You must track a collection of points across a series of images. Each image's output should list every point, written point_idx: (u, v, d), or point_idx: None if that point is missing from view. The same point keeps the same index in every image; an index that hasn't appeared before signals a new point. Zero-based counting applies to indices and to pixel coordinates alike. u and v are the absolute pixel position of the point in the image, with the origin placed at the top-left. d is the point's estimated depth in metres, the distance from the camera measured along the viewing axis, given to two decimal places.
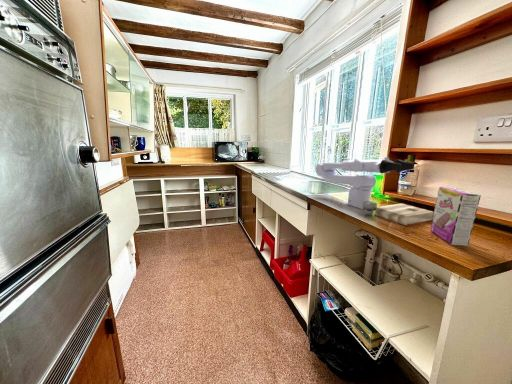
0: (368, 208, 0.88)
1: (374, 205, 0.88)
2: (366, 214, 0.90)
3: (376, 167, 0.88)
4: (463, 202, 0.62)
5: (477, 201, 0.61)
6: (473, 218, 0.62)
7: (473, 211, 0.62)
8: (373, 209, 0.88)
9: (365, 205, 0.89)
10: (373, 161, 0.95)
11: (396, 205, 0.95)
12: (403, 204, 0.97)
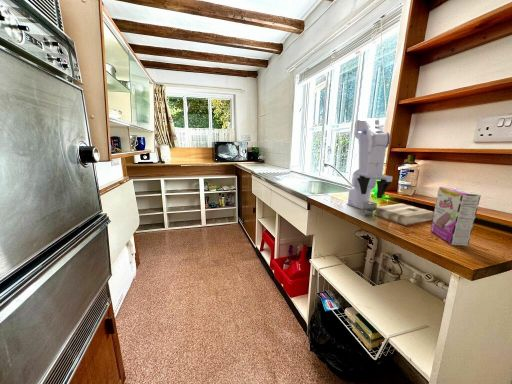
0: (368, 208, 0.88)
1: (374, 205, 0.88)
2: (366, 214, 0.90)
3: None
4: (463, 202, 0.62)
5: (477, 201, 0.61)
6: (473, 218, 0.62)
7: (473, 211, 0.62)
8: (373, 209, 0.88)
9: (365, 205, 0.89)
10: (368, 163, 0.87)
11: (396, 205, 0.95)
12: (403, 204, 0.97)
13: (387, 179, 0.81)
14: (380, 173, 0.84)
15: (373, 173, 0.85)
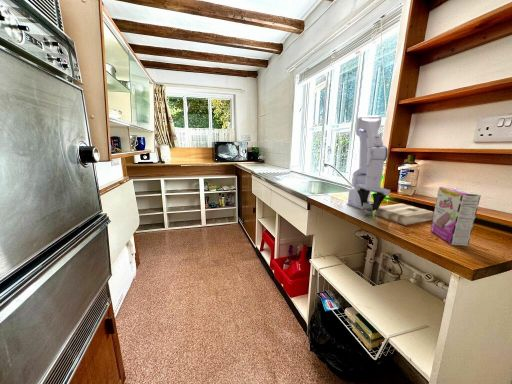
0: (368, 208, 0.88)
1: None
2: (366, 214, 0.90)
3: None
4: (463, 202, 0.62)
5: (477, 201, 0.61)
6: (473, 218, 0.62)
7: (473, 211, 0.62)
8: None
9: (365, 205, 0.89)
10: (366, 175, 0.88)
11: (396, 205, 0.95)
12: (403, 204, 0.97)
13: (385, 193, 0.82)
14: (378, 186, 0.86)
15: (371, 186, 0.86)
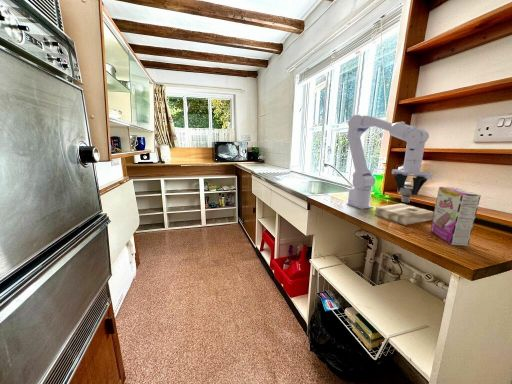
0: (406, 193, 0.85)
1: None
2: (403, 200, 0.87)
3: None
4: (463, 202, 0.62)
5: (477, 201, 0.61)
6: (473, 218, 0.62)
7: (473, 211, 0.62)
8: (411, 194, 0.85)
9: (403, 190, 0.86)
10: (404, 159, 0.85)
11: (396, 205, 0.95)
12: (403, 204, 0.97)
13: (427, 176, 0.79)
14: (418, 170, 0.83)
15: (411, 170, 0.83)
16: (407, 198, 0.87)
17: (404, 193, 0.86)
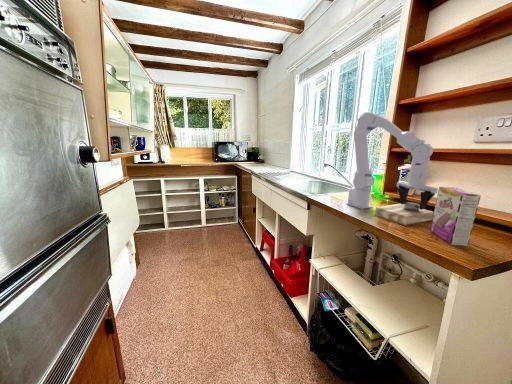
0: (411, 209, 0.87)
1: (417, 206, 0.86)
2: None
3: None
4: (463, 202, 0.62)
5: (477, 201, 0.61)
6: (473, 218, 0.62)
7: (473, 211, 0.62)
8: (416, 210, 0.86)
9: (407, 206, 0.88)
10: (410, 173, 0.86)
11: (396, 205, 0.95)
12: (403, 204, 0.97)
13: (432, 191, 0.80)
14: (423, 184, 0.84)
15: (416, 184, 0.84)
16: None
17: (409, 209, 0.87)
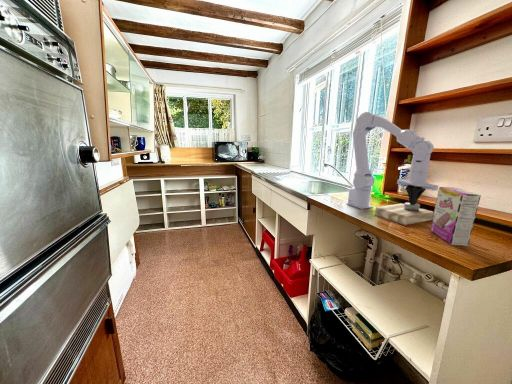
0: (411, 209, 0.87)
1: (417, 206, 0.86)
2: None
3: None
4: (463, 202, 0.62)
5: (477, 201, 0.61)
6: (473, 218, 0.62)
7: (473, 211, 0.62)
8: (416, 210, 0.86)
9: (407, 206, 0.88)
10: (410, 170, 0.86)
11: (396, 205, 0.95)
12: (403, 204, 0.97)
13: (433, 188, 0.80)
14: (424, 181, 0.84)
15: (417, 181, 0.84)
16: None
17: (409, 209, 0.87)
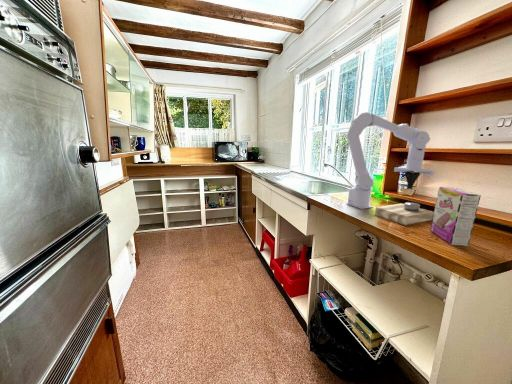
0: (411, 209, 0.87)
1: (417, 206, 0.86)
2: None
3: None
4: (463, 202, 0.62)
5: (477, 201, 0.61)
6: (473, 218, 0.62)
7: (473, 211, 0.62)
8: (416, 210, 0.86)
9: (407, 206, 0.88)
10: (409, 158, 0.95)
11: (396, 205, 0.95)
12: (403, 204, 0.97)
13: (431, 172, 0.91)
14: (421, 167, 0.94)
15: (416, 168, 0.93)
16: None
17: (409, 209, 0.87)
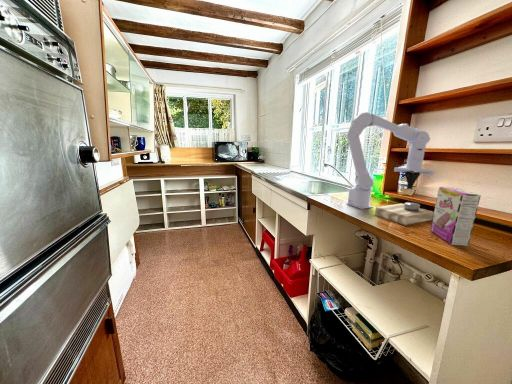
0: (411, 209, 0.87)
1: (417, 206, 0.86)
2: None
3: None
4: (463, 202, 0.62)
5: (477, 201, 0.61)
6: (473, 218, 0.62)
7: (473, 211, 0.62)
8: (416, 210, 0.86)
9: (407, 206, 0.88)
10: (409, 158, 0.95)
11: (396, 205, 0.95)
12: (403, 204, 0.97)
13: (431, 172, 0.91)
14: (421, 167, 0.94)
15: (416, 168, 0.93)
16: None
17: (409, 209, 0.87)
